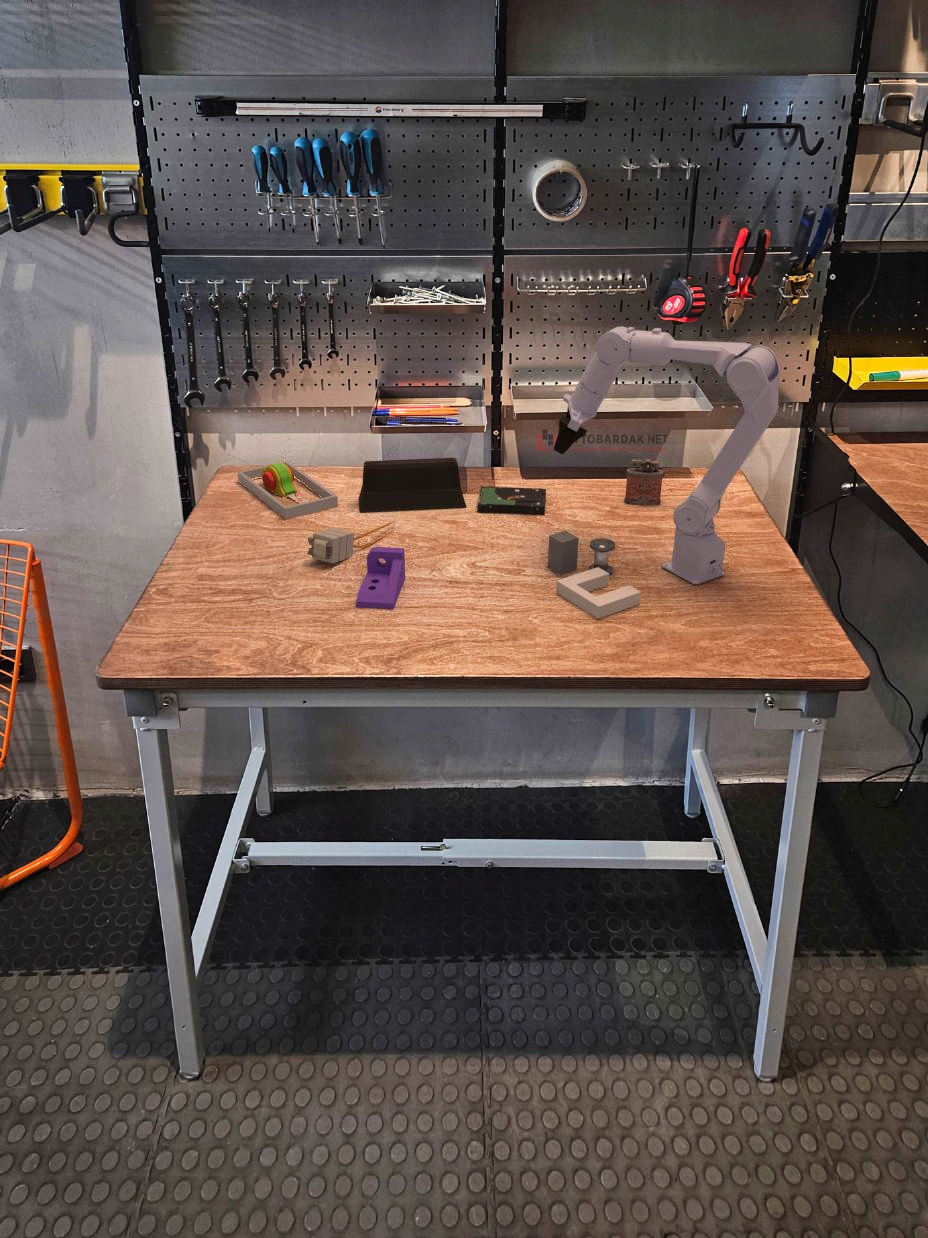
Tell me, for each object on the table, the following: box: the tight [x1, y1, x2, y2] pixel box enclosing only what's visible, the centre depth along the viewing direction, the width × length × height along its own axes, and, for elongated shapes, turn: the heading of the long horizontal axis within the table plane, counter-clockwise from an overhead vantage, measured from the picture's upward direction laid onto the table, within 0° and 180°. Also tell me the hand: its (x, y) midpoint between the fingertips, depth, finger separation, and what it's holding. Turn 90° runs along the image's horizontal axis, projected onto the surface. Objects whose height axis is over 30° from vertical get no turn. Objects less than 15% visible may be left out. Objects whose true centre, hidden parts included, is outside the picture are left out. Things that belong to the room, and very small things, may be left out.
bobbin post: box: [587, 537, 616, 577], centre depth 195 cm, size 5×5×6 cm
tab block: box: [547, 530, 580, 576], centre depth 196 cm, size 4×4×7 cm
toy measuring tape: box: [261, 462, 309, 503], centre depth 228 cm, size 6×19×7 cm, turn 42°
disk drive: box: [476, 485, 547, 516], centre depth 225 cm, size 10×3×15 cm
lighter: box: [623, 458, 665, 507], centre depth 224 cm, size 8×3×10 cm, turn 84°
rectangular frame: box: [237, 460, 339, 520], centre depth 230 cm, size 26×13×2 cm, turn 34°
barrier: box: [358, 457, 467, 514], centre depth 224 cm, size 24×9×10 cm, turn 97°
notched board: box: [555, 567, 642, 620], centre depth 187 cm, size 12×10×2 cm
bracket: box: [355, 546, 406, 610], centre depth 188 cm, size 12×7×7 cm, turn 173°
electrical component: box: [306, 520, 399, 564], centre depth 206 cm, size 24×6×5 cm, turn 150°
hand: (562, 442), depth 200 cm, fingers open, 7 cm apart
